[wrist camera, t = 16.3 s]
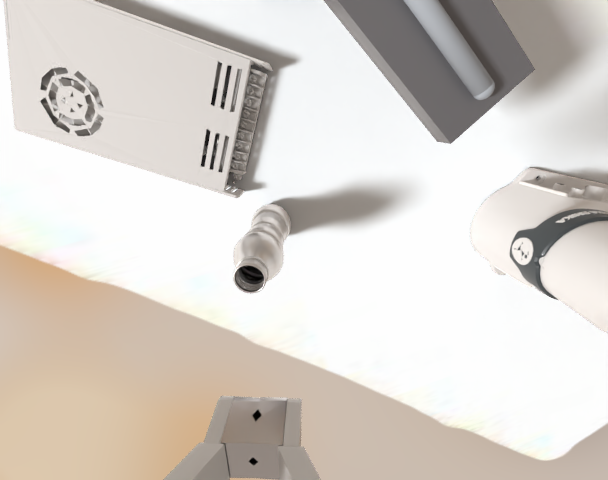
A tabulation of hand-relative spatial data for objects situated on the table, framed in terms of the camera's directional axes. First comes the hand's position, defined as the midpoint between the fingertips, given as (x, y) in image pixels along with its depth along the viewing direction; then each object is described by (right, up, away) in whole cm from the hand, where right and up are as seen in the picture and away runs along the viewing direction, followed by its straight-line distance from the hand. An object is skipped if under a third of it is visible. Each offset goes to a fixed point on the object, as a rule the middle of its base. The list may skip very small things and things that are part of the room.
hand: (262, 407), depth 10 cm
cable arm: (+8, +28, +13) cm, 31 cm away
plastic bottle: (-4, +10, +39) cm, 40 cm away
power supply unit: (-21, +28, +33) cm, 48 cm away
